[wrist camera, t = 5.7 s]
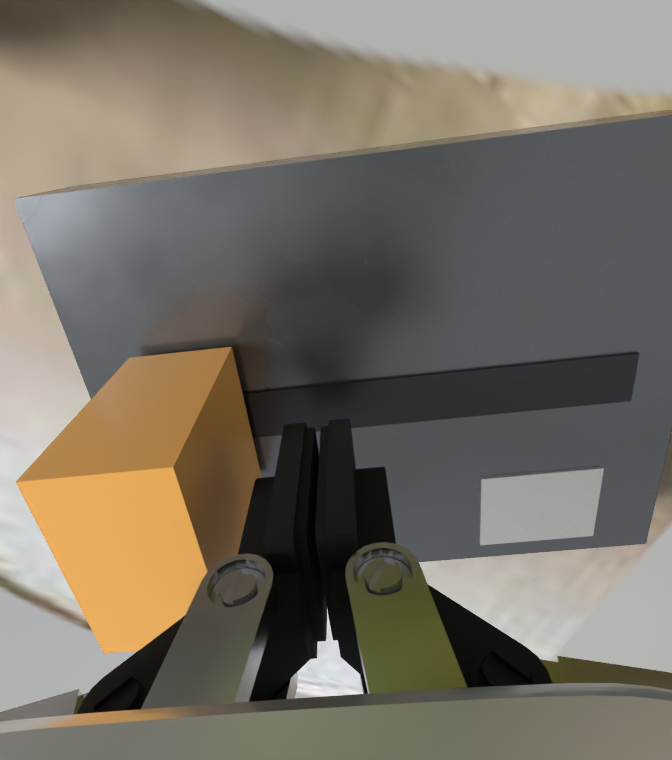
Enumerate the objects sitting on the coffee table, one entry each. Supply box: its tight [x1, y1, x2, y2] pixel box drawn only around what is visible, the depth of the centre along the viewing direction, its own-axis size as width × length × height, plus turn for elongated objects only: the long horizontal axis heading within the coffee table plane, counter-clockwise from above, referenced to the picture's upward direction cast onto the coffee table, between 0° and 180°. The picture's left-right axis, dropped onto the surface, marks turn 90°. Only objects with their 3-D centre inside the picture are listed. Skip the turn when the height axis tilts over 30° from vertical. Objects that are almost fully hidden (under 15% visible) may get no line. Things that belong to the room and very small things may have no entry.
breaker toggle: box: [16, 347, 262, 653], centre depth 13 cm, size 3×5×6 cm, turn 7°
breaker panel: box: [13, 110, 672, 562], centre depth 17 cm, size 18×14×3 cm
